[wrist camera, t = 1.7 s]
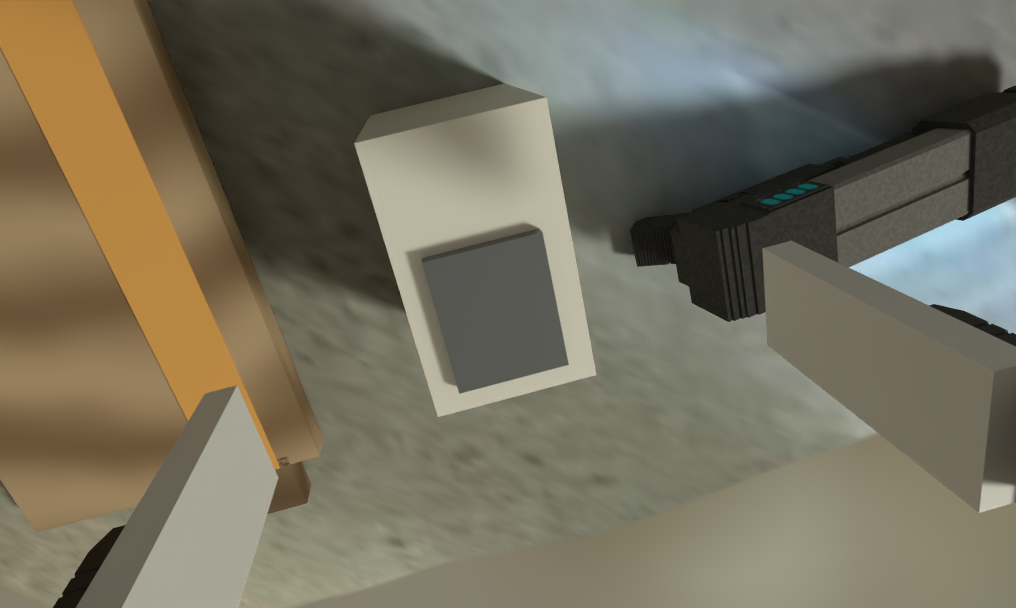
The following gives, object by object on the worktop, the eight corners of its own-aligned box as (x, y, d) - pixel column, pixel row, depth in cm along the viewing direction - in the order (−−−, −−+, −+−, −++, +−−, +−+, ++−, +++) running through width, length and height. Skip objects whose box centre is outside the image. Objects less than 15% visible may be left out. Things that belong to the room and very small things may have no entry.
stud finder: (370, 115, 27) (352, 145, 18) (504, 83, 27) (549, 98, 19) (429, 319, 31) (438, 424, 22) (546, 289, 31) (599, 381, 23)
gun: (608, 205, 30) (784, 238, 21) (877, 84, 37) (1091, 73, 28) (625, 289, 32) (794, 350, 23) (879, 159, 38) (1081, 169, 30)
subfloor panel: (-294, -20, 22) (-344, -25, 21) (105, -105, 23) (84, -115, 21) (75, 548, 33) (60, 571, 31) (338, 477, 33) (335, 496, 32)
